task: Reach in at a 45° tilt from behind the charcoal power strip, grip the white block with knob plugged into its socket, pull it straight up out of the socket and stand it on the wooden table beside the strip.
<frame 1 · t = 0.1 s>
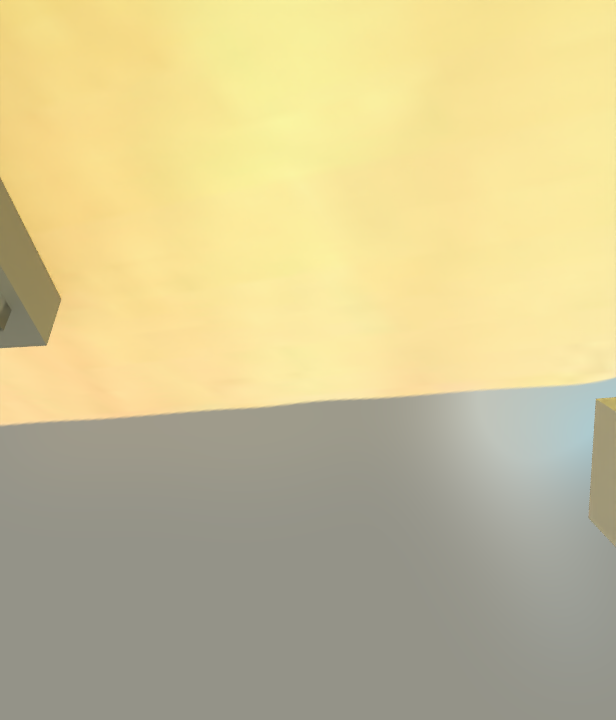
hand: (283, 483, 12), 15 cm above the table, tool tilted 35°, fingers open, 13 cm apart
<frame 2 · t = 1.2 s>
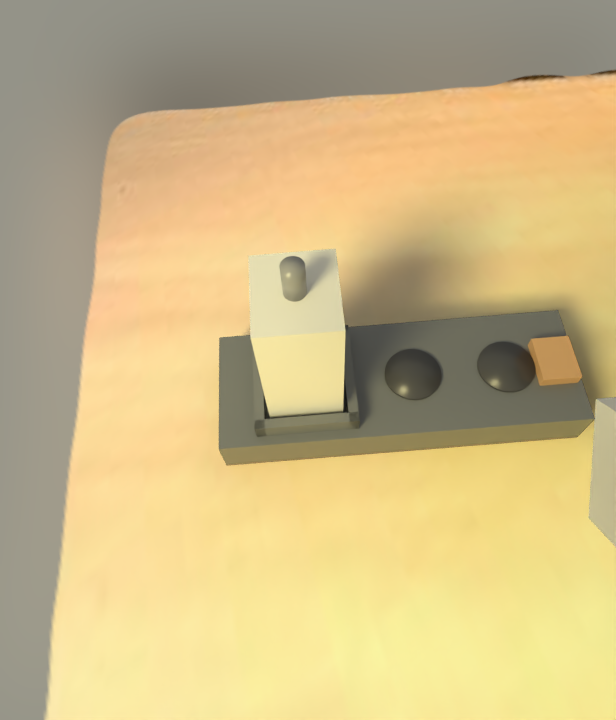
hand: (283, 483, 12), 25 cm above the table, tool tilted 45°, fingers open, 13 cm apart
power strip: (393, 396, 40), on the table
white block with knob: (304, 383, 37), point 3 cm above the table, touching power strip
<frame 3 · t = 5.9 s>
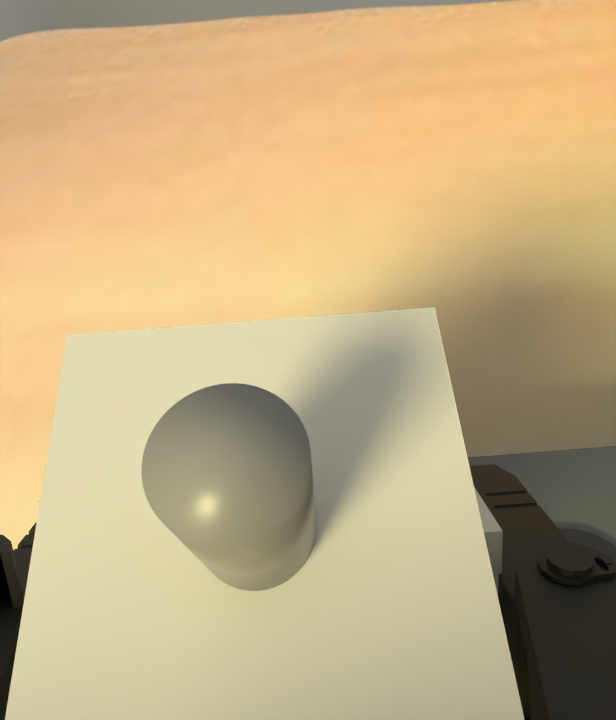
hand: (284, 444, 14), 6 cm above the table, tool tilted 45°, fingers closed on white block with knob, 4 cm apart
power strip: (506, 618, 17), on the table
white block with knob: (299, 625, 15), point 3 cm above the table, touching gripper, power strip
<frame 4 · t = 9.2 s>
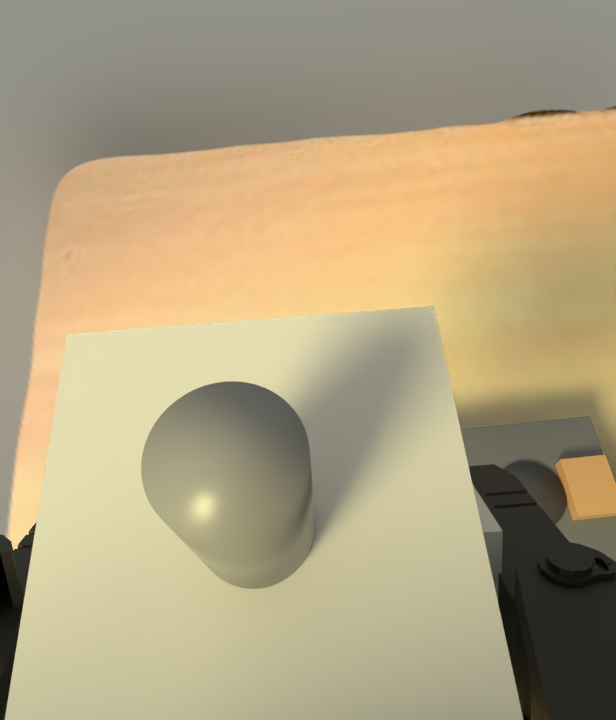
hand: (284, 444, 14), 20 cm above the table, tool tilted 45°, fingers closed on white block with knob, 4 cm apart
power strip: (391, 523, 33), on the table
white block with knob: (299, 624, 15), point 17 cm above the table, touching gripper
when the fingers open (4 cm above the table, at t = 12.9 s): white block with knob drops 2 cm, on the table.
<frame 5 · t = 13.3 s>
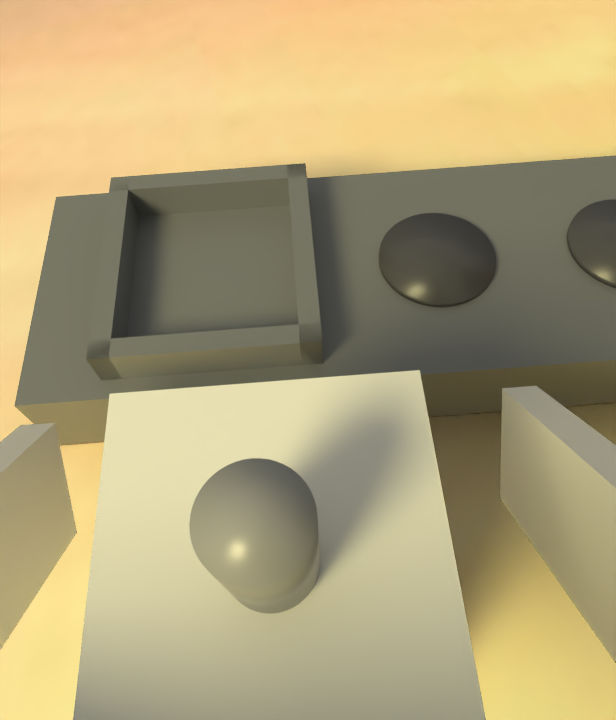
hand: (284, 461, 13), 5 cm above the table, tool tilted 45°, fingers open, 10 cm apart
power strip: (395, 316, 21), on the table
white block with knob: (302, 632, 16), on the table
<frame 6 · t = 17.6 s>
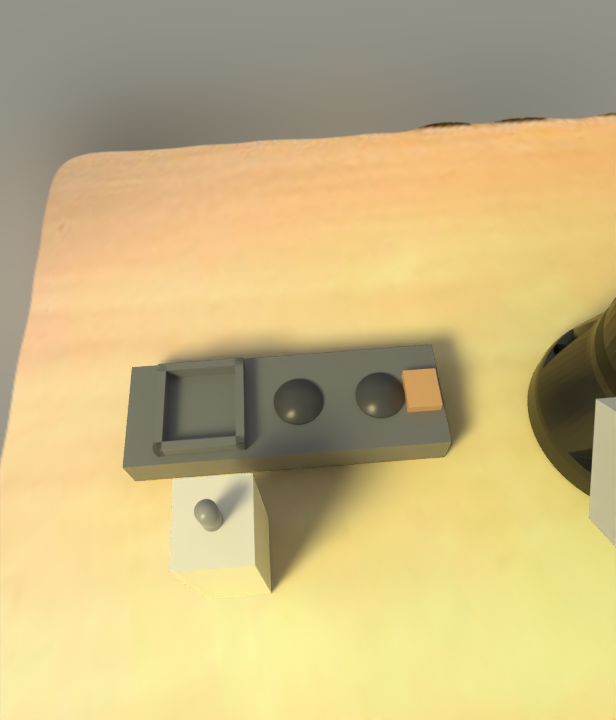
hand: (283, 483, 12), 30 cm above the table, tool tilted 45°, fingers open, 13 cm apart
power strip: (287, 419, 45), on the table
white block with knob: (237, 557, 40), on the table
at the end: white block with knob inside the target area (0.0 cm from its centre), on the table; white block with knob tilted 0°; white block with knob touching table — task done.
